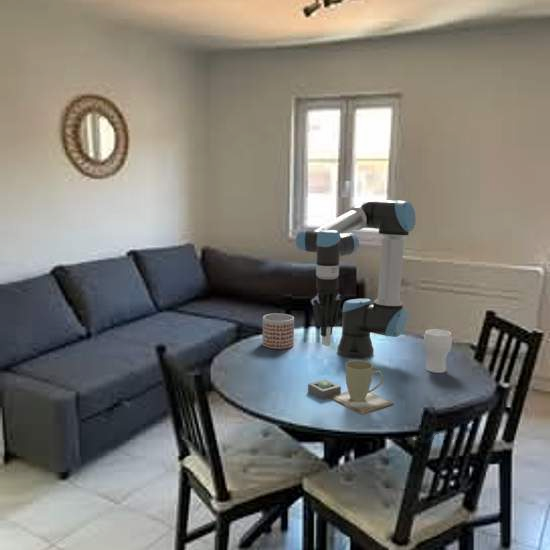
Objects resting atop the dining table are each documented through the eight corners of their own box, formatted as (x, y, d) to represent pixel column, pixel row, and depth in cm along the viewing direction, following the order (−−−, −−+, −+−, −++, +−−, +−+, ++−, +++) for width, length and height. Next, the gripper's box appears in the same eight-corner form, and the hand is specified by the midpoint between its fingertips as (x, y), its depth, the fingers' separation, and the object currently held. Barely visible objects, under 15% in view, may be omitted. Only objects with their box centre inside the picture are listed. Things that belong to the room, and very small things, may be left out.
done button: (315, 390, 197) (315, 382, 197) (325, 387, 200) (325, 380, 199) (323, 394, 193) (323, 386, 193) (333, 392, 196) (333, 384, 195)
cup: (451, 375, 215) (454, 337, 213) (422, 373, 217) (424, 335, 215) (448, 366, 226) (451, 329, 223) (421, 364, 228) (423, 327, 225)
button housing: (307, 392, 198) (308, 383, 197) (325, 387, 202) (326, 379, 202) (322, 399, 191) (322, 391, 191) (340, 394, 196) (340, 386, 195)
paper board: (329, 397, 193) (329, 395, 193) (359, 389, 201) (360, 387, 200) (361, 414, 180) (361, 412, 180) (393, 404, 188) (393, 402, 188)
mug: (356, 407, 183) (357, 371, 181) (338, 396, 192) (340, 362, 190) (383, 401, 189) (385, 366, 186) (365, 390, 197) (366, 357, 195)
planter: (293, 350, 244) (294, 321, 241) (262, 349, 244) (262, 320, 241) (293, 340, 257) (293, 313, 255) (263, 340, 257) (263, 313, 255)
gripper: (319, 281, 183) (317, 351, 187) (349, 276, 190) (347, 344, 194) (305, 277, 189) (304, 345, 193) (335, 273, 196) (333, 338, 200)
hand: (326, 344), depth 194 cm, fingers closed
